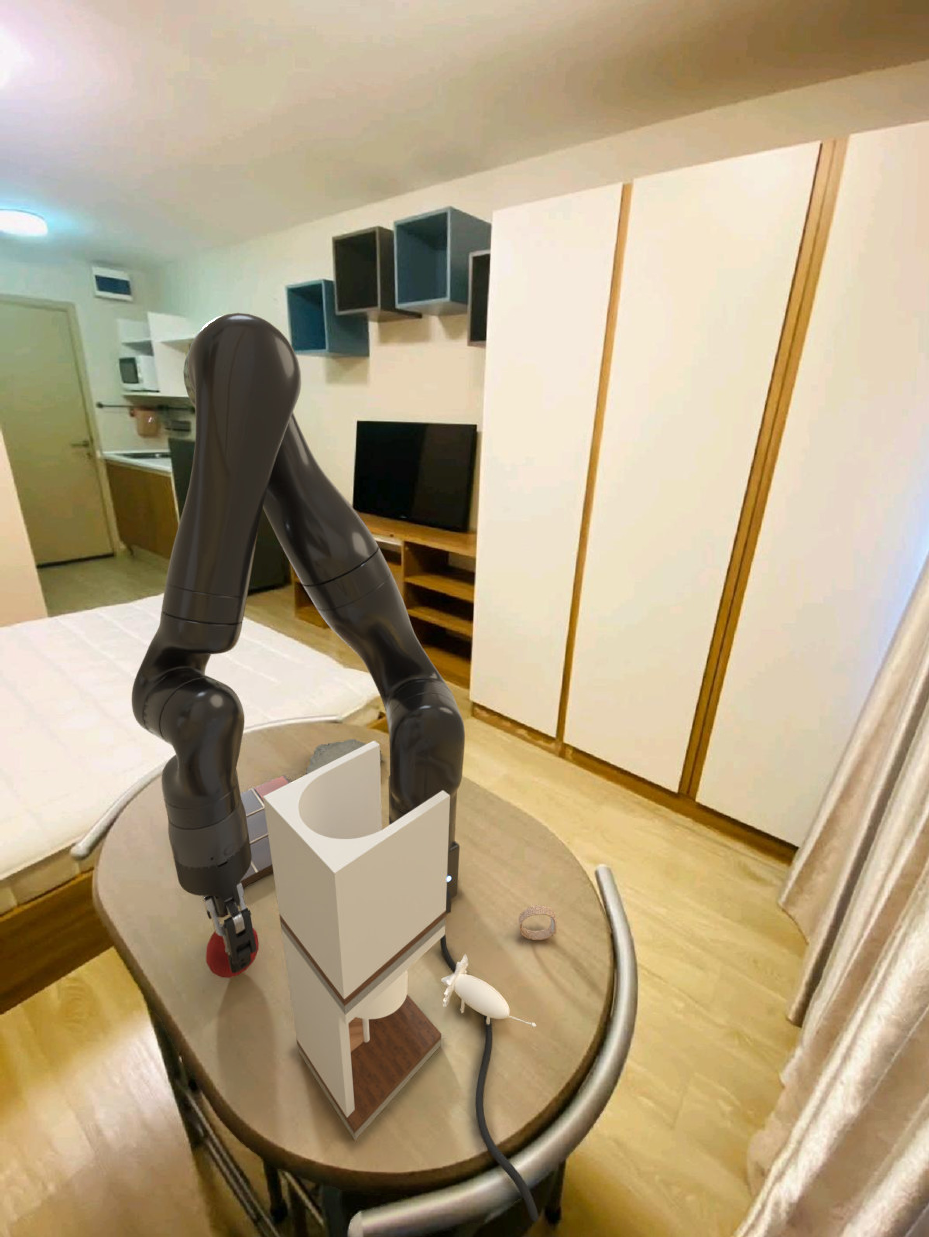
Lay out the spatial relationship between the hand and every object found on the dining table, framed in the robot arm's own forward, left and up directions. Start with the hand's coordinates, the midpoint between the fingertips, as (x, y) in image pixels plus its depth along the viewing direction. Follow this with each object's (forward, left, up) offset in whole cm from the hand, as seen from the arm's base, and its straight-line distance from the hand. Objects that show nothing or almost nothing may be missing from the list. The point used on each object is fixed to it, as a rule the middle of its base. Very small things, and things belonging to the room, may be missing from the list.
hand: (228, 939), depth 63 cm
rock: (+23, -29, -5) cm, 38 cm away
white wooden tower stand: (-19, -8, -5) cm, 21 cm away
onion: (-1, 0, -5) cm, 5 cm away
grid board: (+19, -10, -5) cm, 22 cm away
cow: (-25, -20, -5) cm, 32 cm away
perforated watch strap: (-22, -32, -5) cm, 39 cm away
